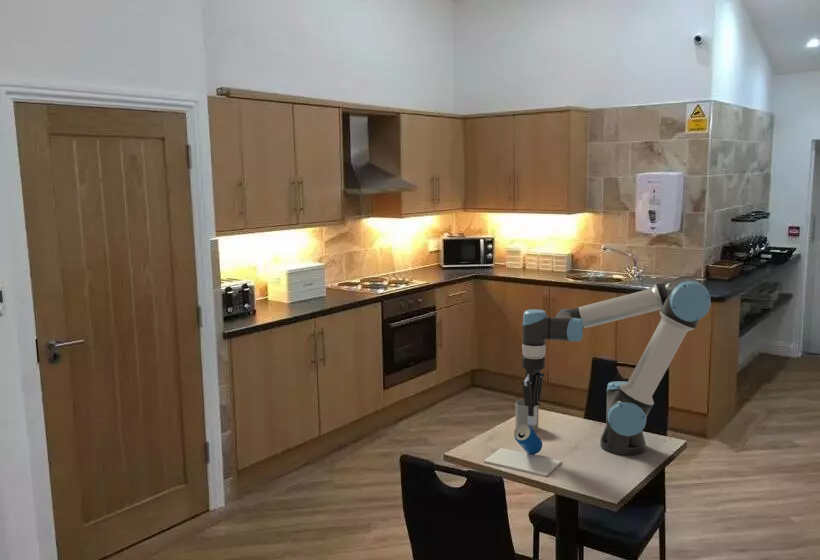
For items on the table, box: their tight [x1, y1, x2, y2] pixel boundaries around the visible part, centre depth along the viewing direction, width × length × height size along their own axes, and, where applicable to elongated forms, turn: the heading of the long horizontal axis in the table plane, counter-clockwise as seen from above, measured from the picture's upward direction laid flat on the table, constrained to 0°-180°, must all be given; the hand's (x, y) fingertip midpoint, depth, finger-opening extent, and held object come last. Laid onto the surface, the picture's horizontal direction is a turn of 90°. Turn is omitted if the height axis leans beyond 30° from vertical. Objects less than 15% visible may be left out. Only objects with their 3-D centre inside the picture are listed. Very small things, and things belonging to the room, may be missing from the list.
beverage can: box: [513, 424, 543, 455], centre depth 239 cm, size 6×6×12 cm
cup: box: [514, 399, 540, 433], centre depth 267 cm, size 8×8×10 cm
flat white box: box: [483, 447, 563, 477], centre depth 236 cm, size 22×13×1 cm, turn 57°
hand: (532, 424), depth 242 cm, fingers closed
